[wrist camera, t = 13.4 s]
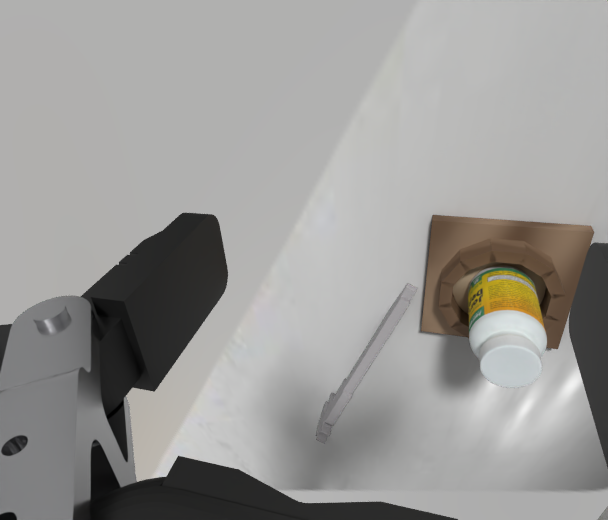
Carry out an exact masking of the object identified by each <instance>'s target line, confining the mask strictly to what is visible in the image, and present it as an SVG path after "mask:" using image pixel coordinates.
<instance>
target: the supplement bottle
mask: <svg viewBox="0 0 608 520" xmlns="http://www.w3.org/2000/svg"><path fill="white" fill-rule="evenodd" d="M468 311H469V312H468V314H469V342H470V346H471V349H472V351H473V353H474V354H475V355H476V356H477V358H478V359H479V364H480V370H481V372H482V374H483V376H484V377H485V378H486V379H487V380H488V381H490V382H491V383H493V384H495V385H498V386H501V387H506V388H519V387H524V386H527V385H529V384H531V383H533V382H534V381H535V380H537V379H538V377H539V376H540V374H541V372H542V361H541V357H542V355H543V354H544V352H545V350H546V346H547V336H546V331H545V327H544V323H543V319H542V314H541V310H540V306H539V301H538V297H537V293H536V289H535V285H534V283H533V281H532V280H531V278H530V277H529V276H528V275H527V274H526V273H525V272H523V271H522V270H520V269H518V268H515V267H512V266H506V265H499V266H492V267H489V268H486V269H484V270H482V271H481V272H479V273H478V274H477V275H476V276H474V277H473V279H472V280H471V282H470V285H469V289H468Z"/></svg>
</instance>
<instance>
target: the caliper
mask: <svg viewBox="0 0 608 520" xmlns="http://www.w3.org/2000/svg"><path fill="white" fill-rule="evenodd" d="M416 290H417V288H416V287H414V286H412V285H410V284H408V283H407V285H406V286H405V288H404V290H403V291H402V293H400V295H399V296H398V298H397V299H396V301H395V302H394V303H393V305H392V307H391V308H390V310H389V312H388V313H387V315H386V316H385V318H384V320H383V321H382V323H381V324H380V326H379V328H378V329H377V331H376V333H375V334H374V336H373V337H372V339H371V341H370V342H369V344H368V346H367V347H366V349H365V350H364V352H363V354H362V355H361V357H360V358H359V360H358V362H357V363H356V365H355V366H354V368H353V370H352V371H351V373H350V375H349V376H348V378H347V379H344V381H343V383H342V385H341V386H340V388H339V389H338V391H337V393H336V394H334V393H331V395H330V399H329V402H327V401H326V402H325V404H324V407H323V410H322V413H321V417H320V420H319V423H318V428H317V432H316V436H317V439H316V440H318V441H320V442H322V443H324V444H325V442H326V439H327V436H330V432H331V427H332V426H333V425H334V424H335V422H336V420H337V419H338V417H339V416H340V414H341V413H342V411H343V409H344V408H345V406H346V405H347V403H348V402H349V400H350V398H351V396H352V393H353V392H354V390H355V389H356V387H357V386H358V384H359V382H360V381H361V379H362V378H363V376H364V375H365V373H366V371H367V370H368V368H369V367H370V365H371V364H372V362H373V361H374V359H375V357H376V356H377V354H378V353H379V351H380V350H381V348H382V346H383V345H384V343H385V342H386V340H387V339H388V337H389V335H390V334H391V332H392V331H393V329H394V328H395V326H396V325H397V323H398V321H399V320H400V318H401V317H402V315H403V314H404V312H405V310H406V309H407V307H408V306H409V304H410V300H411V298H412V297H413V295H414V294H415V292H416Z"/></svg>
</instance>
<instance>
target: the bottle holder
mask: <svg viewBox="0 0 608 520" xmlns="http://www.w3.org/2000/svg"><path fill="white" fill-rule="evenodd" d="M593 234H594V231H593V229H592V227H591V226H582V225H568V224H554V223H540V222H525V221H511V220H497V219H483V218H468V217H454V216H440V215H433V217H432V227H431V237H430V247H429V257H428V267H427V277H426V287H425V297H424V307H423V317H422V327H421V331H426V332H433V333H441V334H448V335H456V336H463V337H468V338H469V314H468V312H469V311H468V289H469V285H470V282H471V280H472V279H473V277H474V276H476V275H477V274H478V273H479V272H481V271H482V270H484V269H486V268H489V267H492V266H499V265H506V266H512V267H515V268H518V269H520V270H522V271H523V272H525V273H526V274H527V275H528V276H529V277H530V278H531V280H532V281H533V283H534V285H535V289H536V293H537V297H538V301H539V306H540V310H541V314H542V319H543V323H544V327H545V331H546V336H547V346H546V348H553V349H558V347H559V344H560V340H561V337H562V334H563V331H564V328H565V324H566V321H567V318H568V315H569V311H570V308H571V305H572V302H573V298H574V295H575V292H576V288H577V285H578V282H579V278H580V275H581V271H582V268H583V265H584V261H585V258H586V255H587V252H588V249H589V247H590V244H591V241H592V238H593Z"/></svg>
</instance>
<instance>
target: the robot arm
mask: <svg viewBox="0 0 608 520" xmlns="http://www.w3.org/2000/svg"><path fill="white" fill-rule="evenodd" d="M227 279H228V270H227V264H226V259H225V253H224V248H223V242H222V237H221V231H220V226H219V222H218V220H217V218H216V217H215V216H214V215H210V214H196V213H182V214H181V215H179V216H178V217H177V218H176V219H175V220H174V221H173V222H172V223H171V224H169V226H167V227H166V228H165V229H164V230H163V231H161V232H159V233H157V234H155V235H154V236H151V237H149V238H147V239H145V240H144V241H142V242H141V243H140V244H139V245H138V246H137V247H136V248H134V249H133V250H132V251H131V252H130V255H127V256H126V257H124V258H123V259H122V260H121V261H120V262H119V265H116V266H114V267H113V268H112V269H111V270H110V271H109V272H108V273H106V274H105V275H104V276H103V277H102V278H101V279H100V280H99V281H97V282H96V283H95V284H94V285H93V286H92V287H91V288H90V289H89V290H88V291H86V292H85V293H84V294H83V295H82V296H81V297H79V296H61V297H56V298H52V299H49V300H46V301H43V302H40V303H38V304H36V305H34V306H32V307H31V308H29V309H27V310H26V311H25V312H23V313H22V314H21V315H20V316H18V318H17V319H16V320H15V321H14V323H13V324H8V325H0V520H458V519H454V518H450V517H446V516H441V515H437V514H432V513H428V512H424V511H419V510H415V509H410V508H406V507H401V506H397V505H393V504H389V503H384V502H351V503H350V502H348V503H347V502H346V503H302V502H298V501H296V500H294V499H292V498H290V497H288V496H286V495H284V494H283V493H281V492H279V491H277V490H275V489H273V488H272V487H270V486H268V485H266V484H264V483H262V482H261V481H259V480H257V479H255V478H253V477H251V476H250V475H248V474H246V473H244V472H242V471H240V470H238V469H234V468H229V467H225V466H221V465H216V464H212V463H207V462H203V461H198V460H194V459H190V458H185V457H181V456H178V457H177V459H176V461H175V463H174V464H173V466H172V468H171V470H170V471H169V473H168V475H167V477H160V478H153V479H147V480H143V481H139V482H137V481H136V474H135V463H134V452H133V441H132V429H131V419H130V407H129V403H128V400H127V397H126V395H127V393H128V392H129V391H130V390H131V388H132V387H134V388H139V389H144V390H150V391H155V390H156V389H157V387H158V386H159V384H160V383H161V382H162V380H163V379H164V377H165V376H166V374H167V373H168V372H169V370H170V369H171V367H172V366H173V365H174V363H175V362H176V360H177V359H178V357H179V356H180V355H181V353H182V352H183V350H184V349H185V348H186V346H187V345H188V343H189V342H190V340H191V339H192V338H193V336H194V335H195V333H196V332H197V331H198V329H199V328H200V326H201V325H202V323H203V322H204V321H205V319H206V318H207V316H208V315H209V313H210V312H211V311H212V309H213V308H214V306H215V305H216V304H217V302H218V301H219V299H220V298H221V296H222V295H223V293H224V291H225V289H226V285H227ZM569 333H570V338H571V342H572V345H573V349H574V352H575V356H576V359H577V363H578V366H579V370H580V373H581V377H582V380H583V384H584V387H585V391H586V394H587V397H588V401H589V404H590V408H591V411H592V415H593V418H594V422H595V425H596V429H597V432H598V436H599V439H600V443H601V446H602V450H603V453H604V457H605V460H606V464H607V467H608V243H593V244H592V245H591V246H590V248H589V249H588V252H587V255H586V258H585V261H584V265H583V268H582V271H581V275H580V278H579V282H578V285H577V288H576V292H575V295H574V298H573V302H572V305H571V309H570V316H569ZM598 520H608V507H607V508H606V509H605V511H604V512H603V513H602V515H601V516H600V517H599V518H598Z"/></svg>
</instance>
